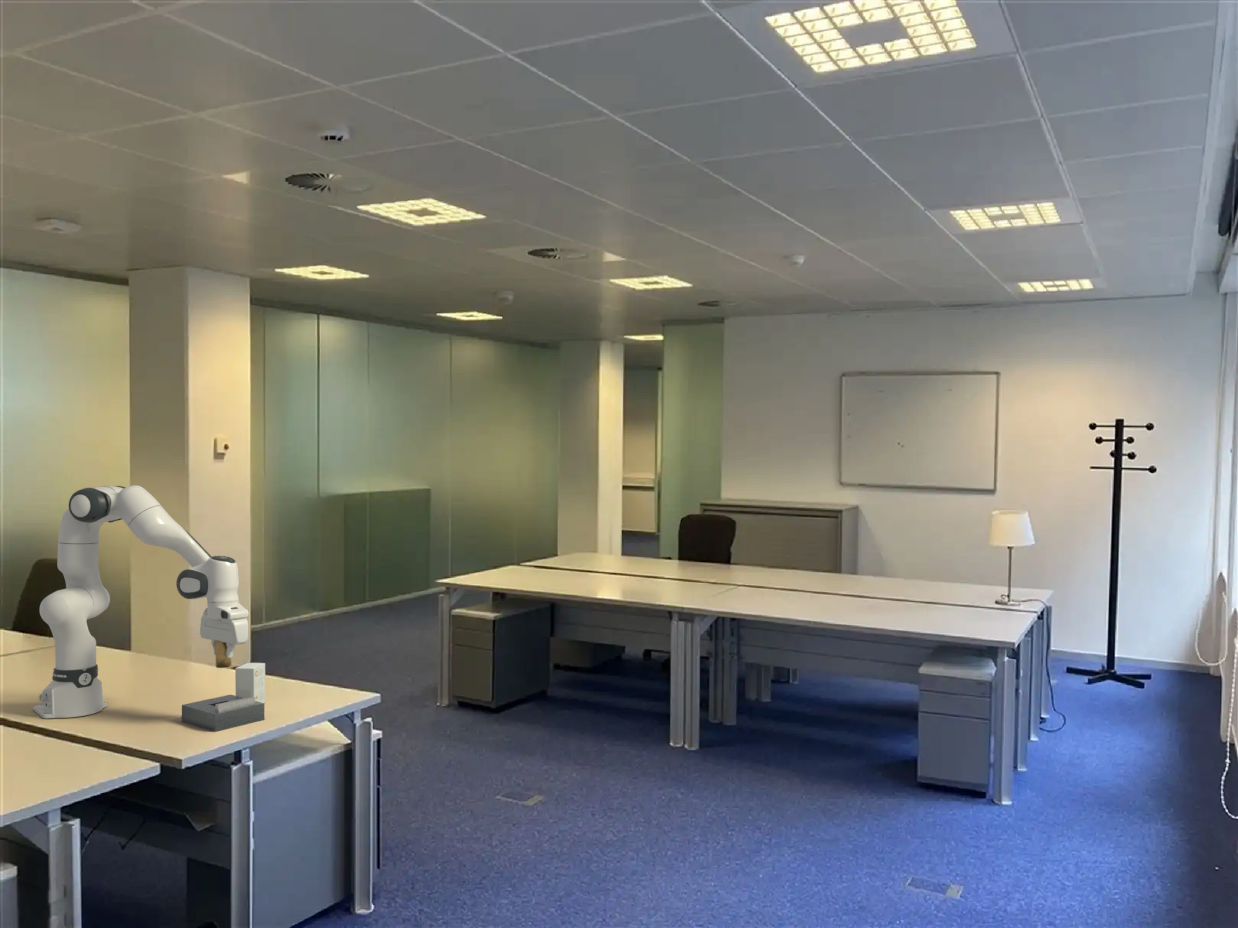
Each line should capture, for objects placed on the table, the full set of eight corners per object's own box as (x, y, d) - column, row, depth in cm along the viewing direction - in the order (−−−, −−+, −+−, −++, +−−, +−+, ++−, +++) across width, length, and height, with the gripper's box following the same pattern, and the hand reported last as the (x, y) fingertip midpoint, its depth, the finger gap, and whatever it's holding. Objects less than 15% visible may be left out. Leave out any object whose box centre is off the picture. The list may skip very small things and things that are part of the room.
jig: (181, 721, 292) (181, 698, 292) (230, 710, 305) (230, 688, 304) (215, 731, 281) (215, 707, 281) (264, 719, 294) (264, 696, 294)
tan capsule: (212, 666, 292) (212, 640, 292) (226, 664, 296) (225, 637, 296) (220, 668, 290) (220, 641, 289) (234, 665, 293) (234, 639, 293)
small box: (246, 702, 314) (246, 662, 314) (265, 702, 314) (265, 662, 314) (234, 708, 306) (234, 667, 306) (254, 709, 306) (254, 668, 306)
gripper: (194, 608, 296) (194, 653, 296) (232, 614, 284) (233, 661, 284) (213, 605, 301) (213, 650, 301) (252, 611, 289) (252, 658, 289)
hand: (223, 656), depth 293 cm, fingers closed on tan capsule, 4 cm apart
